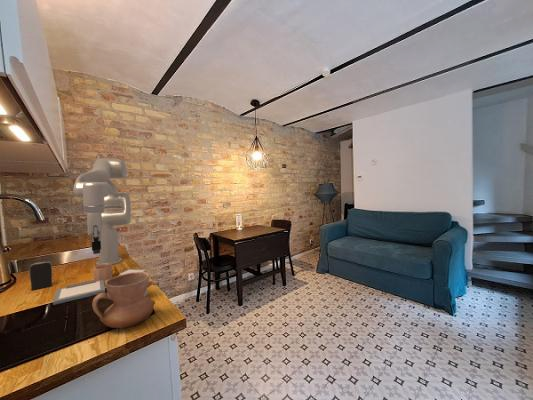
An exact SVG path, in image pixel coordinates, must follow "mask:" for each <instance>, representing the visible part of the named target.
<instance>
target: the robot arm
mask: <svg viewBox="0 0 533 400" xmlns="http://www.w3.org/2000/svg"><path fill="white" fill-rule="evenodd" d="M93 163H94V164H93V166H92V169H91V170H89V171H87V172H84V173H81V174H80V175H78V176H77V178H76V179H75V182H74V184H73V188H72V189H73V191H72V192H73V195H75V197H77V198H80V199H81V198H82V201H83V214H86V224H87V226H86V227H87V236H90V237H91V234H92V243H91V251H92V250H93V251H94V250H100V249H101V250H100V253H99V254H98V257H99V258H98V259H99V260H98V261H96V264H95V265H96V266H99V265H104V264H111V266H112V265H116V264H119V263H122V261H123V258H122V257H120V256H119V253H120V252H119V251H120V250H119V233H118V230H117V229H116V228H114V227H113V226H124V225H129V224H130V223H131V219H132V217H131V216H132V214H131V211H132V210H131V207H132V203H131V198H130V194H129V193H127V192H117V186H116V184H115V183H114V182H113V181H112V180H111V179H123V178H125V179H126V178H127V175H128V168H127V165H126V163H125V161H124V160H122V159H120V158H110V157H103V158H102V157H100V158H97V159H96V160H95V161H94V162H93ZM98 232H99V234H97V233H98ZM93 234H94V235H93ZM100 238H101V241H100ZM98 239H99V241H98ZM93 251H92V252H93Z"/></svg>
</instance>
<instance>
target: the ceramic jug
mask: <svg viewBox="0 0 533 400" xmlns="http://www.w3.org/2000/svg"><path fill="white" fill-rule="evenodd" d="M140 280H141V282H139V281H140ZM157 282H158V281H157V280H151V281H150V275H149V273H148V272H146V273H145V272H132V273H127V274H123V275H120V276H119V275H116V276H114V277H113V276H112V278H111V279H109V280H106V281H105V290H106V292H105V293H101V294H97V295H96V296H94V298H93V300H92V302H91V303H92V305H91V306H92V309H93V312H94V313H95V314H96V316H98V317H99V320H100V322H101V323H103V324H104V325H105V326H106V327H108V328H112V329H124V328H129V327H133V326H136V325H137V324H138V325H139V323H142V322H143V321H145V320H146V319H147V318H148V317H150V316H151V314H152V313H153V311H154V307H155V304H156V300H154V299H152V298H149V297H147V296H145V297H144V294H145V291H146V289H147V290H148V288H150V287H151V286H156V285H157ZM101 299H107V300H111V301H112V302H113V303H112V304H110V306H108V307H107V308H106V309H105V310H104V313H103V312H102V311H101V309H100V308H99V301H100V300H101Z"/></svg>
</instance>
